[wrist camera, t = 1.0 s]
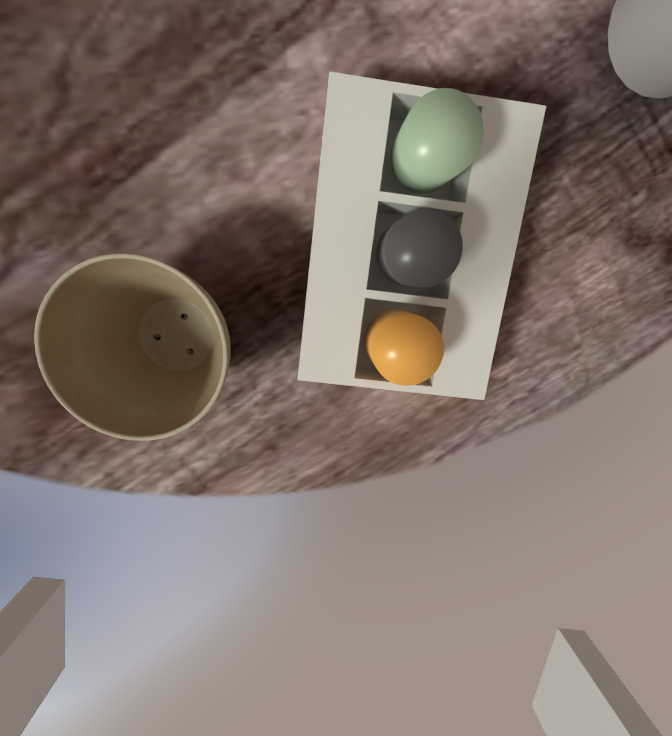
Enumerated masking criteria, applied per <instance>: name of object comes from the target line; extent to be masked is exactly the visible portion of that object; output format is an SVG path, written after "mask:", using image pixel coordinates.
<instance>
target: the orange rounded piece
mask: <svg viewBox="0 0 672 736" xmlns="http://www.w3.org/2000/svg"><path fill="white" fill-rule="evenodd" d="M365 347H366V351H367V353H368V355H369V357H370V358H371V360H372V362H373V363H374V365H375V366H376V368H377V370H378V371H379V373H380V374H381V375H382V376H383V377H384V378H385V379H387V380H388V381H390V382H392V383H394V384H397V385H403V386H410V385H416V384H419V383H422V382H424V381H425V380H427V379H429V378H430V377H431V376H432V375H433V374H434V373H435V372H436V371H437V369H438V368H439V366H440V364H441V362H442V359H443V355H444V343H443V338H442V336H441V333H440V332H439V330H438V328H437V327H436V326H435V325H434V324H433V323H432V322H431V321H429V320H428V319H426V318H424V317H421V316H419V315H416V314H413V313H411V312H408V311H406V310H402V309H391V310H387V311H384V312H382V313H380V314H379V315H377V316H376V317H375V318H374V319H373V320H372V321H371V323H370V324H369V326H368V328H367V330H366V334H365Z"/></svg>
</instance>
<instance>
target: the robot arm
mask: <svg viewBox="0 0 672 736" xmlns="http://www.w3.org/2000/svg"><path fill="white" fill-rule="evenodd" d="M64 667H65V580H61V579H52V578H41V577H33V578H32V579H31V580H30V581H29V582H28V583H27V584H26V585H25V586H24V587H23V589H21V591H20V592H19V593H18V594H17V595H16V596H15V597H14V598H13V599H12V600H11V601H10V602H9V603H8V604H7V605H6V606H5V607H4V608H3V609H2V610H1V612H0V736H20V735H21V734H22V732H23V731H24V729H25V727H26V726H27V724H28V723H29V721H30V720H31V718H32V717H33V715H34V714H35V712H36V711H37V709H38V708H39V706H40V704H41V703H42V701H43V700H44V698H45V697H46V695H47V694H48V692H49V691H50V689H51V688H52V686H53V684H54V683H55V681H56V680H57V678H58V677H59V675H60V674H61V672H62V671H63V669H64ZM532 707H533V709H534V711H535V713H536V715H537V717H538V719H539V721H540V723H541V725H542V727H543V729H544V731H545V733H546V736H662V735H661V734H660V732H659V731H658V730H657V728H656V727H655V726H654V724H653V723H652V722H651V720H650V719H649V717H648V716H647V715H646V713H645V712H644V711H643V709H642V708H641V707H640V705H639V704H638V703H637V701H636V700H635V699H634V698H633V696H632V695H631V693H630V692H629V691H628V689H627V688H626V687H625V685H624V684H623V683H622V681H621V680H620V679H619V677H618V676H617V675H616V673H615V672H614V670H613V669H612V668H611V666H610V665H609V664H608V662H607V661H606V660H605V658H604V657H603V656H602V654H601V653H600V652H599V650H598V649H597V648H596V646H595V645H594V644H593V642H592V641H591V640H590V638H589V637H588V635H587V634H586V633H585V631H581V630H570V629H560V628H558V630H557V633H556V636H555V639H554V642H553V645H552V648H551V651H550V654H549V657H548V660H547V663H546V666H545V669H544V672H543V675H542V678H541V680H540V684H539V687H538V689H537V693H536V696H535V699H534V701H533V704H532Z"/></svg>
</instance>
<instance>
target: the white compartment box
mask: <svg viewBox="0 0 672 736" xmlns="http://www.w3.org/2000/svg"><path fill="white" fill-rule="evenodd" d="M436 89H437V88H430V87H424V86H418V85H411V84H405V83H399V82H392V81H386V80H380V79H373V78H367V77H360V76H354V75H348V74H341V73H335V72H329V81H328V91H327V100H326V110H325V120H324V130H323V139H322V149H321V159H320V168H319V178H318V188H317V197H316V207H315V217H314V227H313V236H312V246H311V256H310V265H309V275H308V285H307V294H306V304H305V314H304V323H303V333H302V343H301V353H300V362H299V372H298V380H302V381H311V382H321V383H330V384H339V385H349V386H358V387H368V388H377V389H386V390H396V391H405V392H414V393H424V394H433V395H442V396H452V397H461V398H470V399H480V400H484V398H485V393H486V388H487V384H488V379H489V374H490V369H491V365H492V360H493V355H494V351H495V346H496V341H497V336H498V332H499V327H500V322H501V317H502V313H503V308H504V303H505V299H506V294H507V289H508V284H509V280H510V275H511V270H512V265H513V261H514V256H515V251H516V247H517V242H518V237H519V232H520V228H521V223H522V218H523V213H524V209H525V204H526V199H527V195H528V190H529V185H530V180H531V176H532V171H533V166H534V161H535V157H536V152H537V147H538V142H539V138H540V133H541V128H542V124H543V119H544V114H545V109H546V106H544V105H538V104H532V103H525V102H519V101H513V100H506V99H500V98H494V97H487V96H481V95H475V94H468V93H465V94H466V95H467V96H469V97H470V98H471V99H472V100H473V101H474V102H475V104H476V105H477V107H478V109H479V111H480V113H481V116H482V120H483V126H484V136H483V142H482V146H481V148H480V151H479V153H478V155H477V157H476V158H475V160H474V161H473V162H472V163H471V165H469V166H468V167H467V168H466V169H465V170H464V171H462V172H461V173H459V174H458V175H457V176H455V177H454V178H453V179H451V180H450V181H449V182H447V183H446V184H445V185H443V186H442V187H440V188H439V189H437V190H435V191H433V192H430V193H415V192H411V191H409V190H407V189H405V188H404V187H403V186H402V185H401V184H400V183H399V182H398V181H397V180H396V178H395V176H394V174H393V172H392V169H391V164H390V152H391V147H392V144H393V142H394V139H395V137H396V136H397V134H398V132H399V130H400V128H401V126H402V124H403V123H404V121H405V119H406V117H407V115H408V113H409V112H410V110H411V108H412V107H413V105H414V104H415V103H416V102H417V101H418V100H419V99H420V98H421V97H422V96H423V95H425V94H426V93H428V92H430V91H433V90H436ZM421 208H432V209H437V210H440V211H442V212H444V213H446V214H447V215H448V216H450V217H451V218H452V219H453V220H454V222H455V223H456V224H457V226H458V228H459V230H460V232H461V236H462V241H463V250H462V256H461V259H460V262H459V264H458V266H457V268H456V270H455V271H454V272H453V273H452V275H451V276H450V277H449V278H447V279H446V280H445V281H443V282H442V283H440V284H438V285H435V286H431V287H413V286H403V285H399V284H396V283H394V282H392V281H390V280H389V279H388V278H387V277H386V276H385V275H384V274H383V273H382V271H381V269H380V267H379V265H378V261H377V246H378V243H379V240H380V238H381V236H382V234H383V233H384V232H385V230H386V229H387V228H388V227H389V226H391V225H392V224H394V223H395V222H396V221H398V220H399V219H400V218H402V217H403V216H405V215H406V214H408V213H409V212H411V211H414V210H417V209H421ZM391 309H402V310H406V311H408V312H411V313H413V314H416V315H419V316H421V317H424V318H426V319H428V320H429V321H431V322H432V323H433V324H434V325H435V326H436V327H437V328H438V330H439V332H440V333H441V336H442V338H443V343H444V355H443V359H442V362H441V364H440V366H439V368H438V369H437V371H436V372H435V373H434V374H433V375H432V376H431V377H430V378H429V379H427V380H425V381H424V382H422V383H419V384H416V385H410V386H403V385H397V384H394V383H392V382H390V381H388V380H387V379H385V378H384V377H383V376H382V375H381V374H380V373H379V371H378V370H377V368H376V366H375V365H374V363H373V362H372V360H371V358H370V357H369V355H368V353H367V351H366V347H365V334H366V330H367V328H368V326H369V324H370V323H371V321H372V320H373V319H374V318H375V317H376V316H377V315H379V314H380V313H382V312H384V311H387V310H391Z"/></svg>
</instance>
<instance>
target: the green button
mask: <svg viewBox="0 0 672 736" xmlns="http://www.w3.org/2000/svg"><path fill="white" fill-rule="evenodd" d="M483 136H484V126H483V120H482V116H481V113H480V111H479V109H478V107H477V105H476V104H475V102H474V101H473V100H472V99H471V98H470V97H469V96H467V95H466V94H465V93H463V92H461V91H458V90H456V89H451V88H440V89H436V90H433V91H430V92H428V93H426V94H425V95H423V96H422V97H421V98H420V99H419V100H418V101H417V102H416V103H415V104H414V105H413V107H412V108H411V110H410V112H409V113H408V115H407V117H406V119H405V121H404V123H403V124H402V126H401V128H400V130H399V132H398V134H397V136H396V137H395V139H394V142H393V144H392V147H391V152H390V164H391V169H392V172H393V174H394V176H395V178H396V180H397V181H398V182H399V183H400V184H401V185H402V186H403V187H404V188H405V189H407V190H409V191H411V192H415V193H430V192H433V191H435V190H437V189H439V188H440V187H442V186H443V185H445V184H446V183H447V182H449V181H450V180H451V179H453V178H454V177H455V176H457V175H458V174H459V173H461V172H462V171H464V170H465V169H466V168H467V167H468V166H469V165H471V163H472V162H473V161H474V160H475V158H476V157H477V155H478V153H479V151H480V148H481V146H482V142H483Z"/></svg>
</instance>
